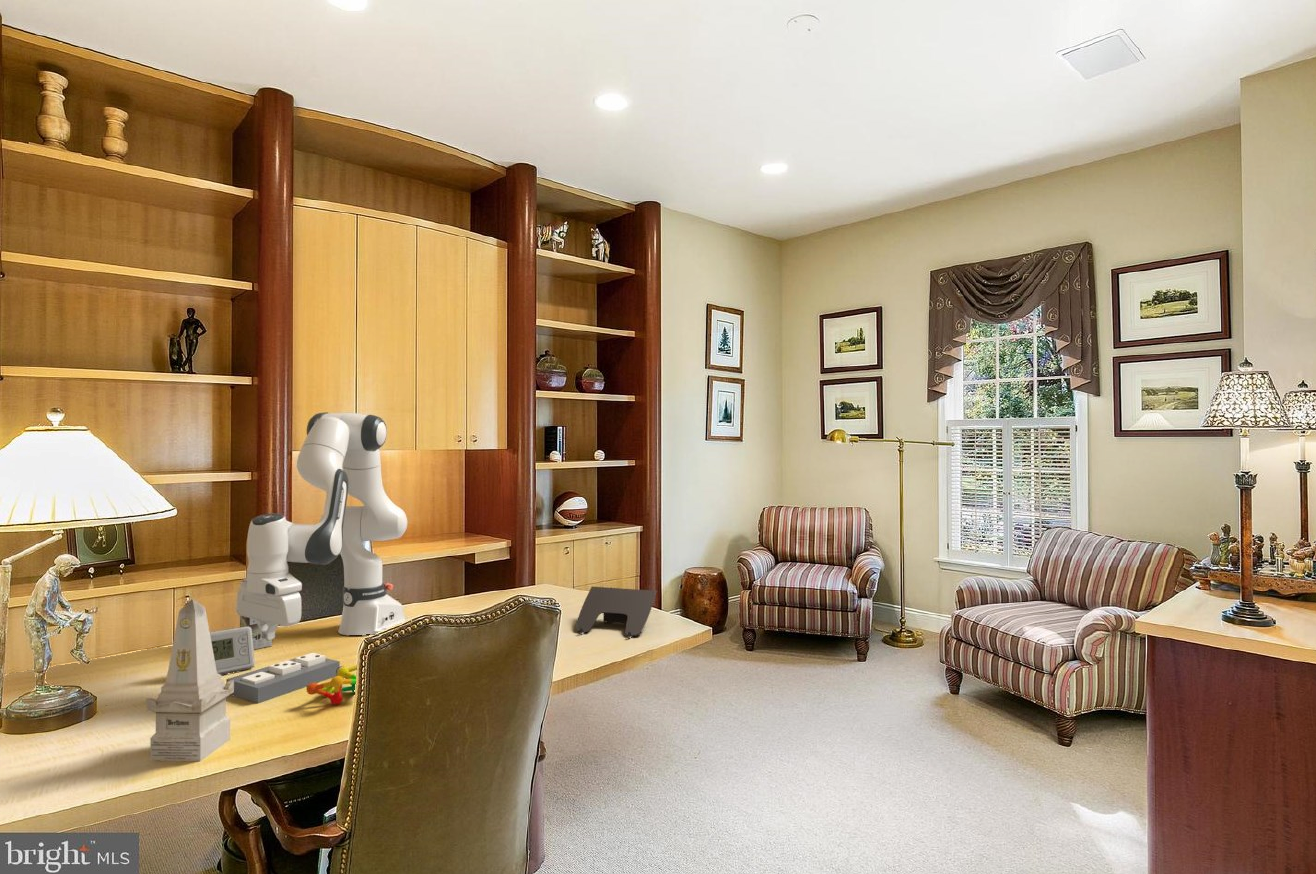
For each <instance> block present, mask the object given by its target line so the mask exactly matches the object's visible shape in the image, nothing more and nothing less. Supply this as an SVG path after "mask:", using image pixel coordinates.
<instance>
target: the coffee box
mask: <svg viewBox="0 0 1316 874" xmlns="http://www.w3.org/2000/svg"><path fill="white" fill-rule="evenodd" d="M241 627H251V629H252V637H253V648H254V650H257V649H263V648H268V647H272V646H273V639H271V640H268V639H264V638H261V631H260V629H259V627H258V624H257V620H256V619H252V618H248V617H244V616H239V628H241Z"/></svg>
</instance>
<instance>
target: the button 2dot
mask: <svg viewBox="0 0 1316 874" xmlns="http://www.w3.org/2000/svg"><path fill="white" fill-rule="evenodd" d="M325 658H326V655H325V654H320V653H317V652H316V653H315V652H310V653H307V654H303V655H301V656H297V657H295V662H297V663H301V666H305V667H310V666H313V665H316V664H319V663H322V662H325Z"/></svg>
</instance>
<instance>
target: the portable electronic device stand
mask: <svg viewBox="0 0 1316 874" xmlns="http://www.w3.org/2000/svg"><path fill="white" fill-rule="evenodd" d="M657 592H658V591H657V590H649V589H634V588H620V587H619V588H618V587H608V586H607V587H605V586H602V587H601V586H591V587H590V590H589V591H588V593H587V595H586V597H585V600H584V602H583V604H582V606H581V609H580V612H579V613H578V617H577V620H576V625H575V629H576V631H578V632H580V634H581V635H584V634H585V633H588V632H590V630H591V629H592V627H593V626H594V625H595V623H596V621H597V620H598V617H599V616H600V615H601V614H602V615H603V617H602V618H603V623H604V624H624V625H625V631H624V635H625V636H627V637H628V639H630V638H631V637H632V638H633V637H635V636H640V635H641V634H642V633H643V632H642V631H643V630H644V627H645V625H646V623H647V621H648V619H649V616H650V614H651V611H652V608H653V604H654V602H655V598H656V596H657V595H656V594H657ZM632 638H631V639H632Z"/></svg>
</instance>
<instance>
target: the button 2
mask: <svg viewBox="0 0 1316 874" xmlns="http://www.w3.org/2000/svg"><path fill="white" fill-rule="evenodd" d="M289 660H290V659H288V660H285V661H280V662H278V663H277V662H276V663H274V664H272V665H268V666H269V672H271V673H275V674H278V675H285V674H288V673H291V672H294V671H297V670H300V669H301V663H297V662H293V661H289Z"/></svg>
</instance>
